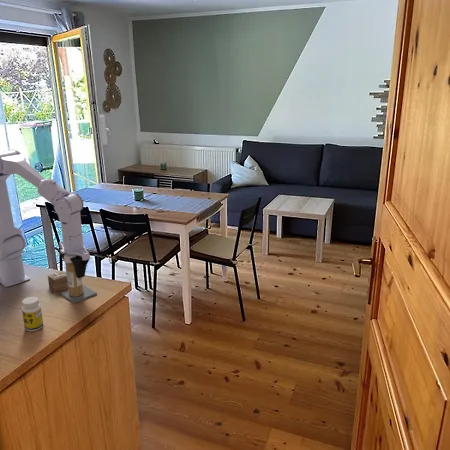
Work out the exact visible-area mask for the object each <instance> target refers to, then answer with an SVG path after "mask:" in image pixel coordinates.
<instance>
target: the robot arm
mask: <svg viewBox="0 0 450 450" xmlns="http://www.w3.org/2000/svg"><path fill="white" fill-rule="evenodd" d="M26 159H27V158H26V156H25V155H24V154H23V153H21V152H20V151H19V150H18V149H10V150H7V151H1V152H0V284H1V285H2V286H3V287H6V288H8V287H11V286H14V285H17V284H20V283H24V282H26V281H30V280H31V278H30V277H29V276H28V275H26V274H25V268H24V261H23V256H22V254H23V253H24V249H25V248H26V246H27V245H26V239H25V238H24V236H23V232H22V230H21V229H19V228H18V227H15V222H14V217H13V211H12V207H11V201H10V197H9V196H10V195H9V191H8V186H7V179H8V178H9V177H10V176H11V175H18V176H19V177H21V178H22V179H24V180H25V181H27V182H28V183H30V184H32V185H33V186H34V187H36V188H37V193H38V194H39V195H40V196H41V197H42V198H44V199H45V200H46V202H47V201H48V203H50V204H51V205H53V209H54V211H55V213H56V214H57V216H58V220H59V221H60V227H61V235H62V236H61V237H62V241H59V242H58V243H59V248H60V251H59V253H58V254H59V256H60V257H61V258H62V260H63V261H64V255H65V254H67V253H69V254H74V255H76V257H73V258H70V260H71V262H72V263H73V265H74V267H75V271H76V275H77V278H82V279H83V278H85V276H86V269H87V265H88V264H89V262H90V259H91V255H90V252H89V251H87V248H86V246H85V245H84V237H83V228H82V227H83V226H82V219H81V211H82V210H83V208H84V200H83V198H82V197H81V195H80V194H78V193H77V192H70V191H68V190H67V189H65V188H64V187H62V186H61V185H60V184H59V183H57V180H55V179H51V178H45V177H44V176H43V175H42V174H40V173H39V171H37V169H35V168H34V167H33V166H32V165H31V164H30V163H29V162H27V160H26ZM64 263H65V261H64Z"/></svg>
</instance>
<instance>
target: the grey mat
mask: <svg viewBox="0 0 450 450" xmlns="http://www.w3.org/2000/svg"><path fill="white" fill-rule="evenodd" d="M82 286H83V294H82V295H80V296H75V297H73V296H70V295H69V289H68V290H65V291H63V292H60V296H62V297H64V298H65V299H66V300H67V301H69V302H71V303H72V304H77V303H79V302H81V301H83V300H87V299H89V298H92V297H94V296H97V295H98V292H97V291H94V290H93V289H91V288H89V287H88V286H86V285H85V284H82Z"/></svg>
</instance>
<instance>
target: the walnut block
mask: <svg viewBox="0 0 450 450" xmlns="http://www.w3.org/2000/svg"><path fill="white" fill-rule="evenodd" d="M47 281H48V287H49V289H50V290H52V291H53V292H55V293H58V292H60V291H63V290H65V289H68V283H67V275H66V273H64V272H63V271H57V272H54V273H52V274H48V275H47Z"/></svg>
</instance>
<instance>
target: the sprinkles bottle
mask: <svg viewBox="0 0 450 450" xmlns="http://www.w3.org/2000/svg"><path fill="white" fill-rule="evenodd" d="M73 257H76V255H74V254H69V253H67V254H65V255H64V260H63V261H65V262H64V265H65V274H66V275H67V283H68V288H67V289H68V290H69V295H70V296H73V297H75V296H80V295H82V294H83V286H82V285H83V277H82V278H77V275H76V271H75V267H74V265H73V263H72V262H71V260H70V258H73Z"/></svg>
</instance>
